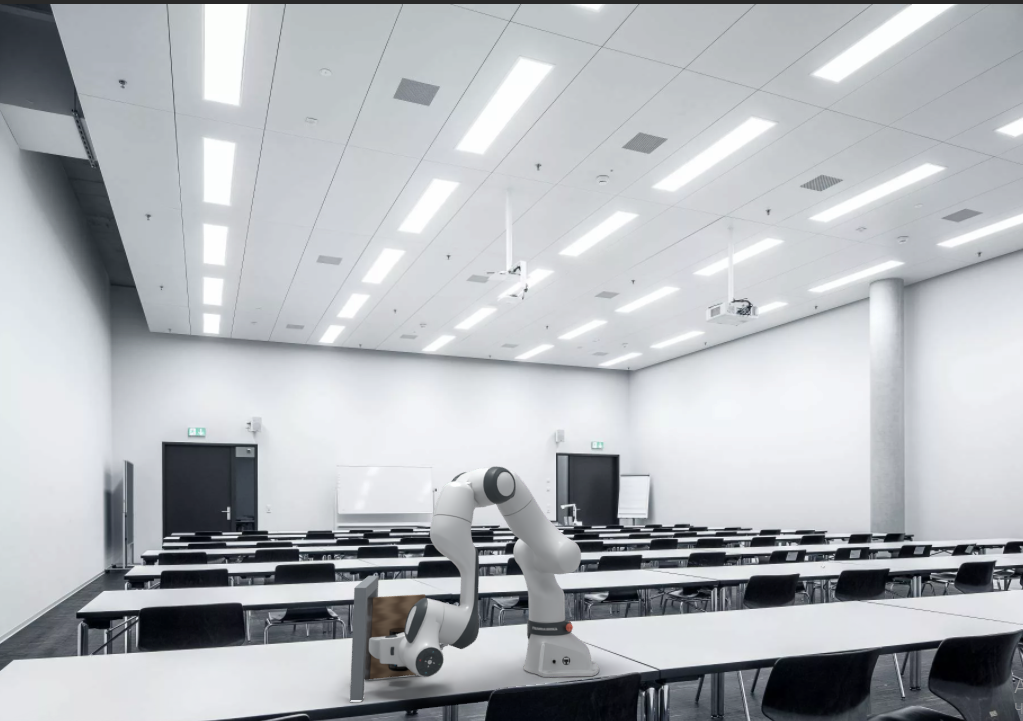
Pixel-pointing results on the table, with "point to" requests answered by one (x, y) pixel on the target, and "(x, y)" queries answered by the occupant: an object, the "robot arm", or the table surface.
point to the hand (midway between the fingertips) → (400, 638)
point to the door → (386, 629)
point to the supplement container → (393, 666)
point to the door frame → (360, 634)
